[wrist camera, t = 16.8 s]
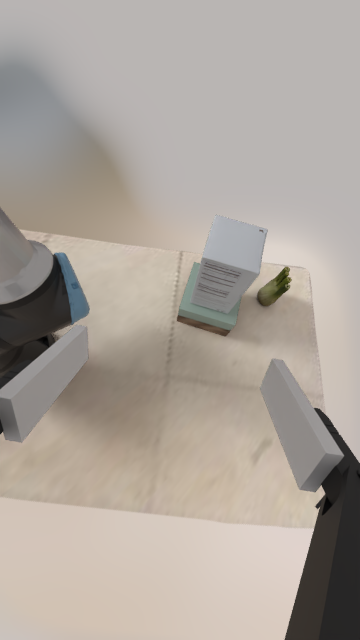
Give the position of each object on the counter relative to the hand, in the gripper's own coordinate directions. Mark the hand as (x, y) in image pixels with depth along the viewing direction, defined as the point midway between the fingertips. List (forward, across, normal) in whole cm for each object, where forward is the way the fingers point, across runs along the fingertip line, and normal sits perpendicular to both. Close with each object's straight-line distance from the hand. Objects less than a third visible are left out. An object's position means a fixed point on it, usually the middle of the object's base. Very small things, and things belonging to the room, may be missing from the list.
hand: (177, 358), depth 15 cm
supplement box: (+35, +6, -5) cm, 36 cm away
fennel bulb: (+44, +22, -7) cm, 49 cm away
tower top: (+38, +7, -8) cm, 39 cm away
